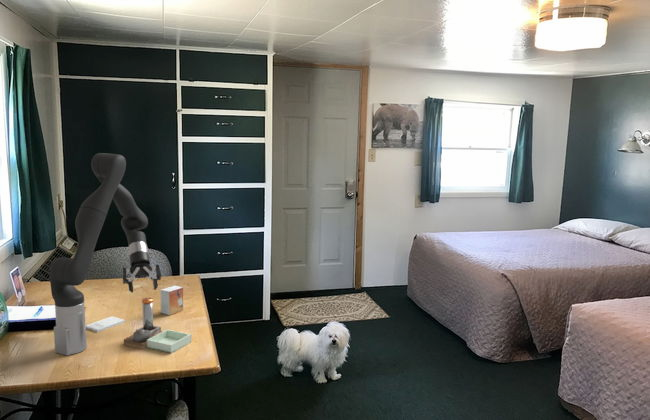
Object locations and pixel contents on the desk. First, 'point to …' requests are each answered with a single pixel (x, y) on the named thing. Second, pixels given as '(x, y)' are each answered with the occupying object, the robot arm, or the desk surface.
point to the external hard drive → (104, 324)
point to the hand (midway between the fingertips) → (143, 290)
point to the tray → (169, 341)
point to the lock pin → (147, 313)
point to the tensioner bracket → (141, 337)
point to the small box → (171, 300)
